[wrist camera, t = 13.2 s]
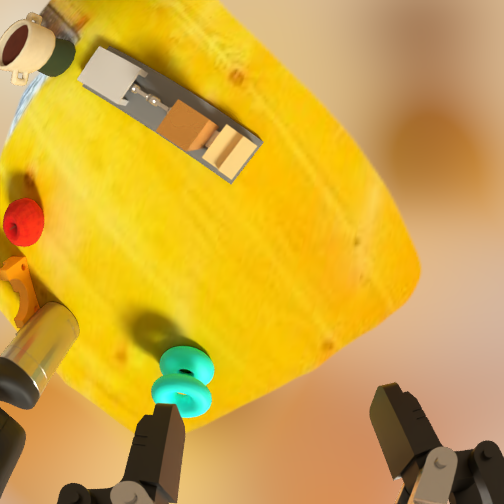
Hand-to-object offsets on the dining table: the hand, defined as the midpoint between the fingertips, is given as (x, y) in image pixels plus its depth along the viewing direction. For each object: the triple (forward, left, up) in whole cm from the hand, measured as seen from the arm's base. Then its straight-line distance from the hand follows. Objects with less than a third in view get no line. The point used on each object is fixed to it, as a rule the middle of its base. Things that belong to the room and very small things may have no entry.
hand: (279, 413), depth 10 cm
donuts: (-13, -27, -32) cm, 44 cm away
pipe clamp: (-44, -10, -32) cm, 56 cm away
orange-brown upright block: (-9, +14, -31) cm, 35 cm away
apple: (-36, +3, -32) cm, 48 cm away
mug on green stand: (-28, +28, -32) cm, 51 cm away
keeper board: (-11, +15, -32) cm, 37 cm away
